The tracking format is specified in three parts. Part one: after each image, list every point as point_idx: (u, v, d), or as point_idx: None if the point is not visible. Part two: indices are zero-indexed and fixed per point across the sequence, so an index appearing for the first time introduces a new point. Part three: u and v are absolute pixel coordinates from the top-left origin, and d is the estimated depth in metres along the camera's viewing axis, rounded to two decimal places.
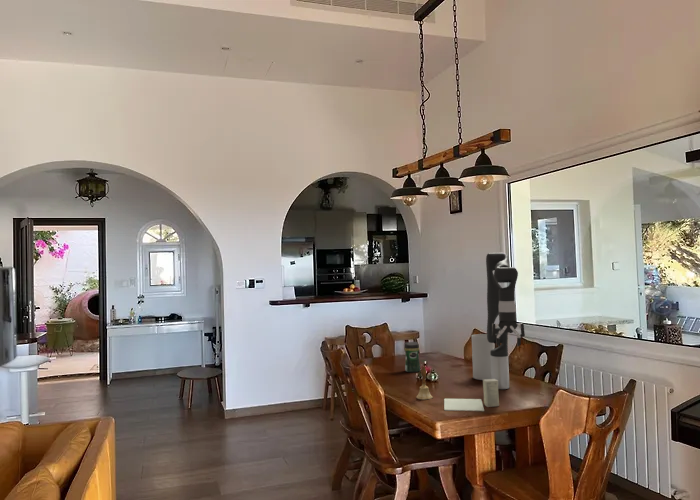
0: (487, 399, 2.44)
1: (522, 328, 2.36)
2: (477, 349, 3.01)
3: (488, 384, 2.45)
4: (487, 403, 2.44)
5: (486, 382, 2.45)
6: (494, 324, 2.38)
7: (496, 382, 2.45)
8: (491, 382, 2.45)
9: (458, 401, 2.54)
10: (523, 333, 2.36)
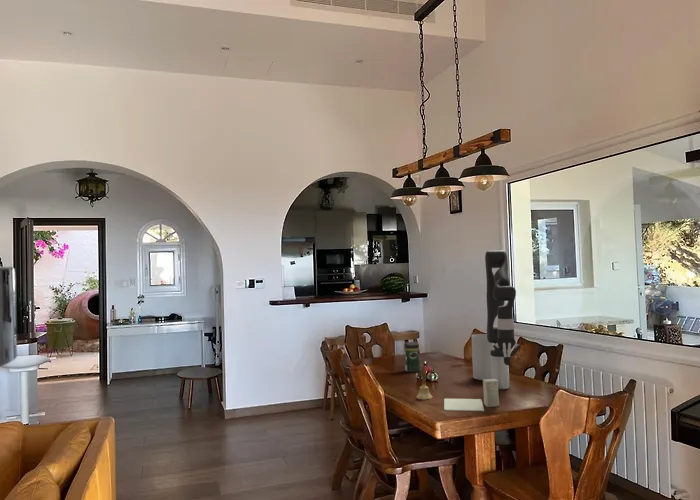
0: (487, 399, 2.44)
1: (516, 349, 2.44)
2: (477, 349, 3.01)
3: (488, 384, 2.45)
4: (487, 403, 2.44)
5: (486, 382, 2.45)
6: (494, 345, 2.46)
7: (496, 382, 2.45)
8: (491, 382, 2.45)
9: (458, 401, 2.54)
10: (514, 353, 2.44)
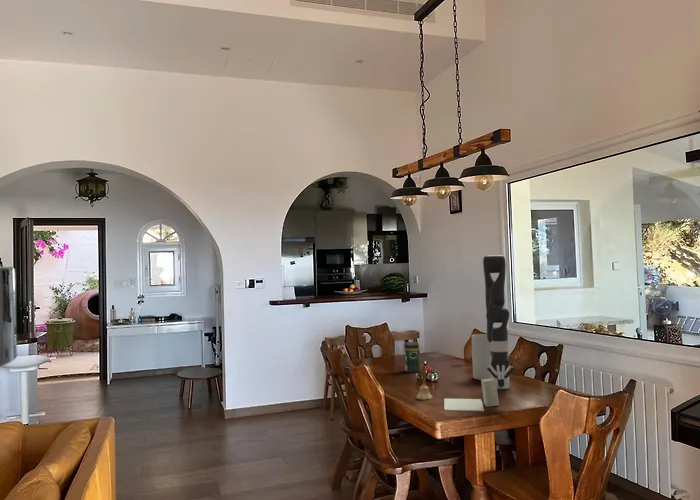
0: (487, 399, 2.44)
1: (510, 371, 2.44)
2: (477, 349, 3.01)
3: (486, 384, 2.45)
4: (486, 403, 2.44)
5: (484, 382, 2.45)
6: (488, 368, 2.46)
7: (494, 381, 2.45)
8: (489, 382, 2.45)
9: (458, 401, 2.54)
10: (507, 375, 2.44)
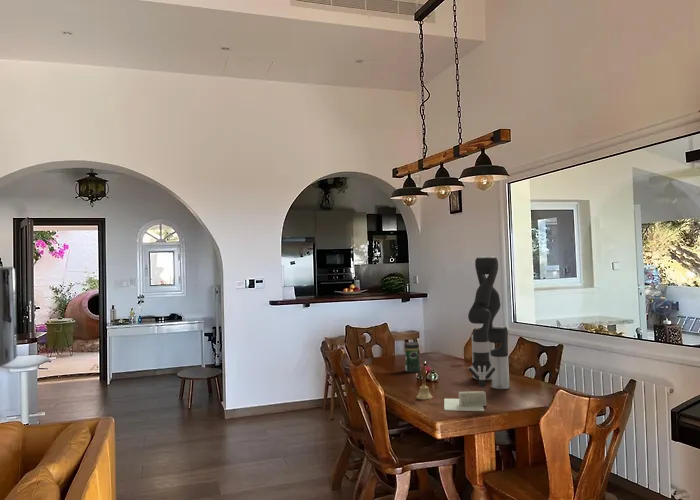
0: (479, 404, 2.44)
1: (491, 371, 2.46)
2: None
3: (464, 403, 2.44)
4: (482, 405, 2.44)
5: (462, 405, 2.44)
6: (469, 368, 2.47)
7: (462, 395, 2.45)
8: (462, 400, 2.44)
9: (458, 401, 2.54)
10: (489, 376, 2.46)
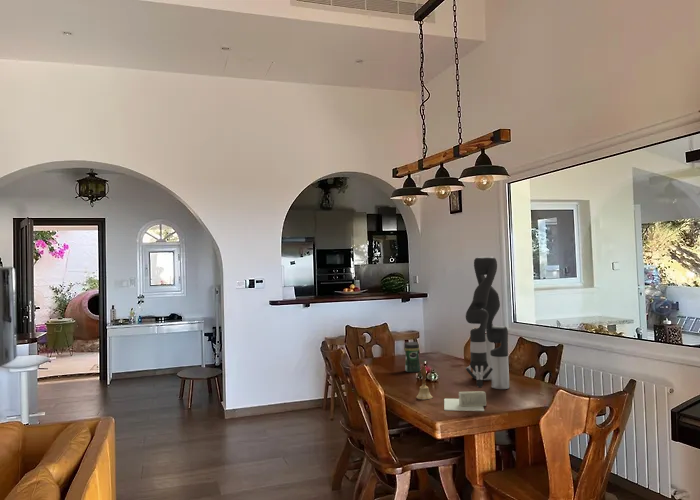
0: (479, 404, 2.44)
1: (489, 372, 2.46)
2: None
3: (464, 403, 2.44)
4: (482, 405, 2.44)
5: (462, 405, 2.44)
6: (467, 368, 2.48)
7: (462, 395, 2.45)
8: (462, 400, 2.44)
9: (458, 401, 2.54)
10: (486, 376, 2.46)
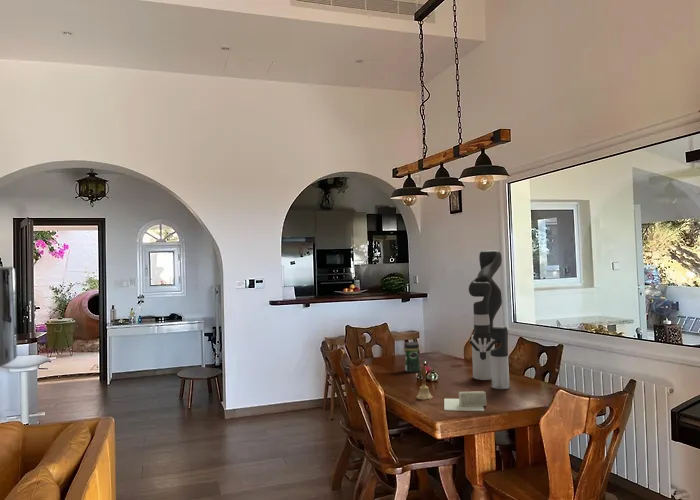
0: (479, 404, 2.44)
1: (492, 344, 2.47)
2: None
3: (464, 403, 2.44)
4: (482, 405, 2.44)
5: (462, 405, 2.44)
6: (470, 341, 2.49)
7: (462, 395, 2.45)
8: (462, 400, 2.44)
9: (458, 401, 2.54)
10: (489, 348, 2.48)
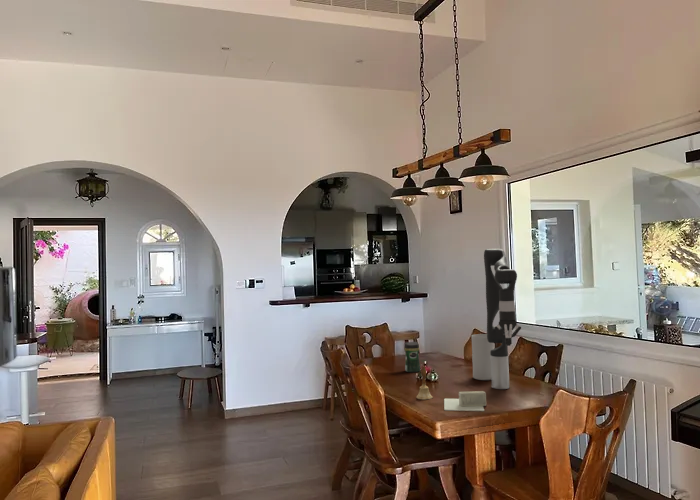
0: (479, 404, 2.44)
1: (517, 330, 2.53)
2: (477, 349, 3.01)
3: (464, 403, 2.44)
4: (482, 405, 2.44)
5: (462, 405, 2.44)
6: (496, 327, 2.55)
7: (462, 395, 2.45)
8: (462, 400, 2.44)
9: (458, 401, 2.54)
10: (515, 334, 2.53)
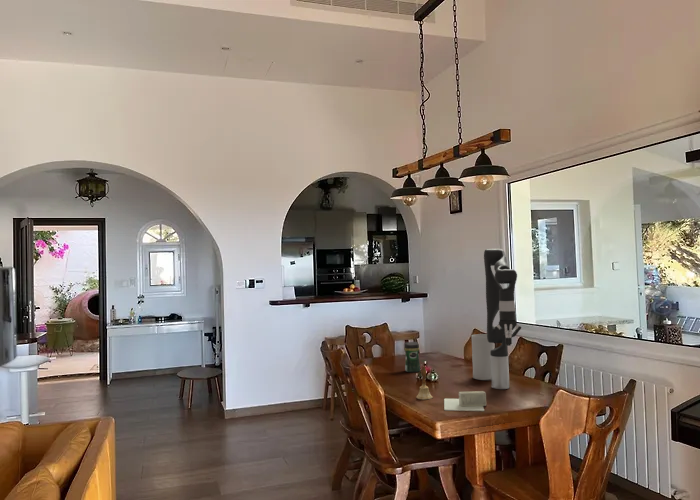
0: (479, 404, 2.44)
1: (517, 330, 2.53)
2: (477, 349, 3.01)
3: (464, 403, 2.44)
4: (482, 405, 2.44)
5: (462, 405, 2.44)
6: (496, 327, 2.55)
7: (462, 395, 2.45)
8: (462, 400, 2.44)
9: (458, 401, 2.54)
10: (515, 334, 2.53)
